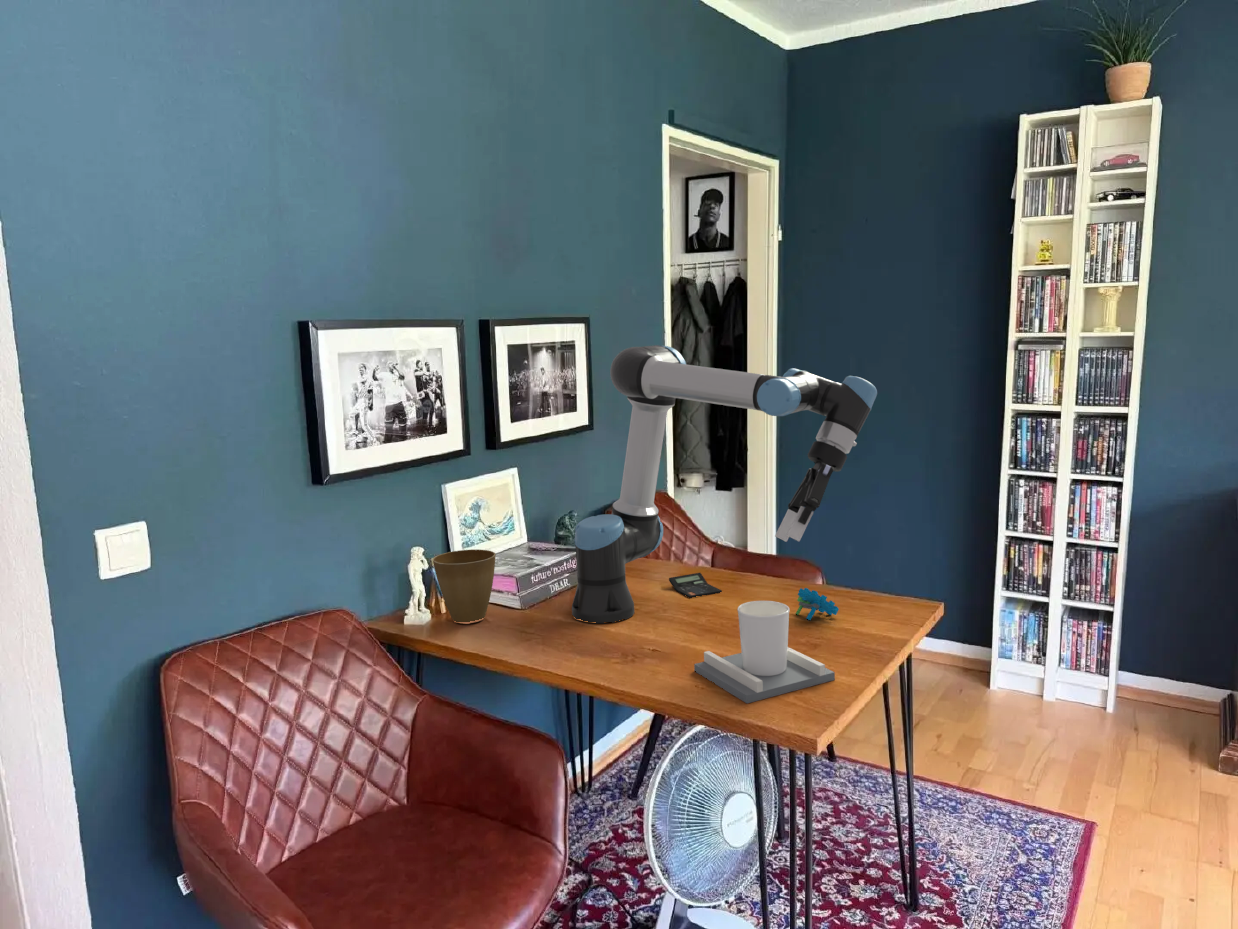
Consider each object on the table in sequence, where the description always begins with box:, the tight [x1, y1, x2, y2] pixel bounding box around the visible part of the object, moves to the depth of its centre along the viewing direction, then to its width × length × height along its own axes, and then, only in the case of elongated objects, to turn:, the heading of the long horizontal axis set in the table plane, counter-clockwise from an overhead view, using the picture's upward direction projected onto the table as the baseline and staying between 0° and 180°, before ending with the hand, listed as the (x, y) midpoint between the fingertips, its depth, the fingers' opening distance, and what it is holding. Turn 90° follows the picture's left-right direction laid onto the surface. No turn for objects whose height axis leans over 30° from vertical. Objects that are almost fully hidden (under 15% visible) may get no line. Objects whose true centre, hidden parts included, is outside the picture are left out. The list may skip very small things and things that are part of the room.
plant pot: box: [432, 548, 496, 622], centre depth 207 cm, size 15×15×16 cm
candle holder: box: [736, 600, 791, 676], centre depth 165 cm, size 10×10×12 cm
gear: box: [795, 587, 839, 621], centre depth 198 cm, size 11×6×10 cm
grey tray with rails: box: [693, 646, 836, 704], centre depth 166 cm, size 20×18×4 cm
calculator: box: [668, 572, 723, 599], centre depth 225 cm, size 9×12×3 cm
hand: (786, 538), depth 177 cm, fingers open, 13 cm apart
